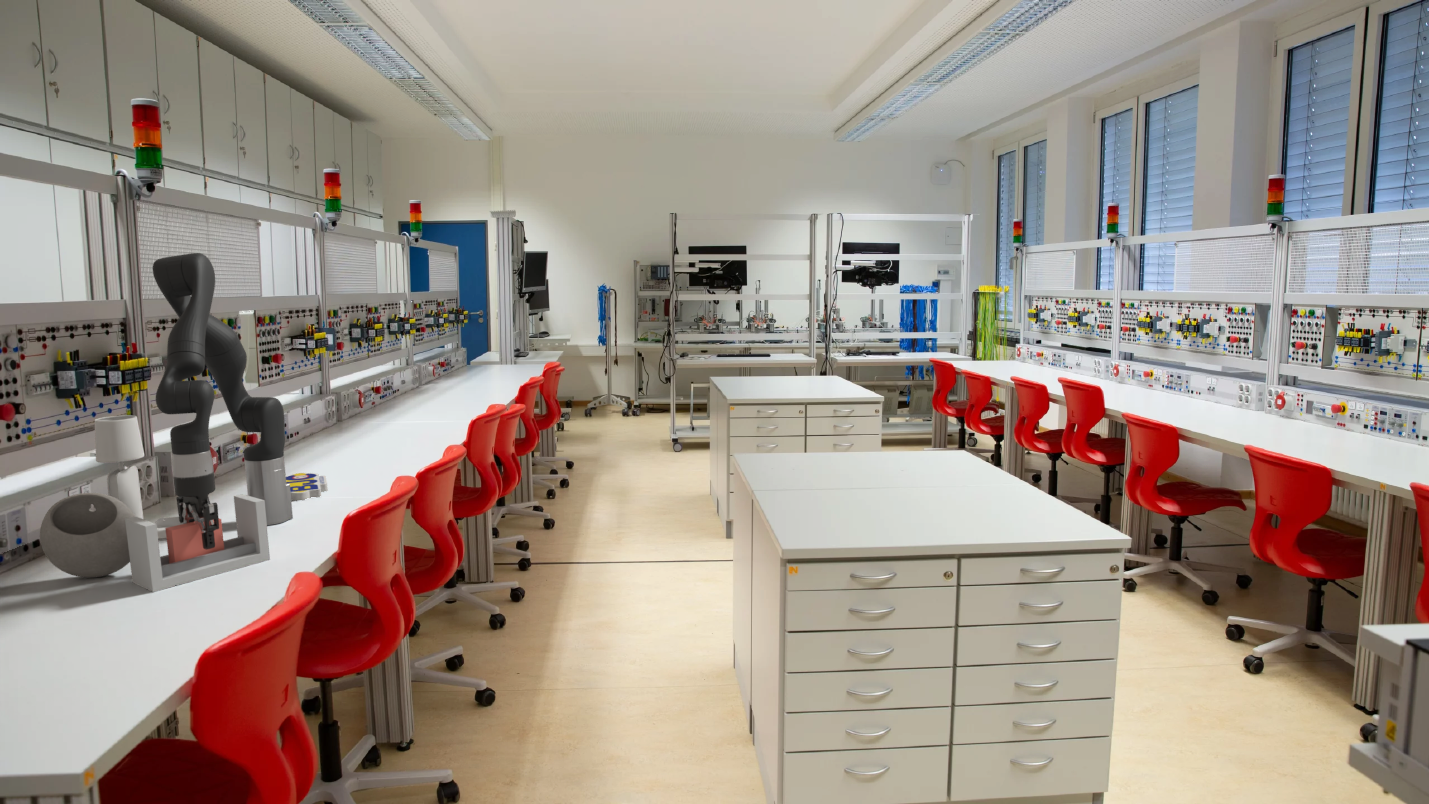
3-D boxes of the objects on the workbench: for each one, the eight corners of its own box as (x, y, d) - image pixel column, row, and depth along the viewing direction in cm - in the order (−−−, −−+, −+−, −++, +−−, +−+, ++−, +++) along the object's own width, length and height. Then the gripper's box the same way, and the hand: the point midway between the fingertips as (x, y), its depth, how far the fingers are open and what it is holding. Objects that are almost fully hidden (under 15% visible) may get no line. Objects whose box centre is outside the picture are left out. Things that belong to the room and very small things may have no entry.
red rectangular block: (218, 555, 189) (214, 517, 187) (225, 558, 187) (221, 519, 185) (169, 568, 180) (165, 528, 179) (176, 571, 179) (171, 530, 177)
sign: (328, 489, 246) (251, 498, 237) (329, 498, 246) (252, 507, 237) (324, 470, 271) (254, 477, 262) (325, 478, 271) (255, 485, 262)
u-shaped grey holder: (248, 551, 197) (242, 494, 195) (269, 559, 192) (264, 500, 189) (132, 582, 178) (125, 518, 176) (153, 592, 172) (145, 526, 170)
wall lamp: (192, 536, 209) (179, 418, 205) (96, 542, 205) (81, 422, 201) (209, 524, 219) (197, 412, 215) (118, 530, 215) (104, 415, 211)
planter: (37, 587, 176) (26, 500, 173) (54, 575, 182) (43, 492, 180) (138, 578, 180) (128, 493, 178) (151, 567, 187) (141, 485, 184)
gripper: (227, 472, 180) (234, 546, 183) (196, 464, 188) (204, 535, 191) (190, 479, 174) (198, 556, 177) (159, 471, 182) (167, 544, 185)
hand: (201, 545), depth 184 cm, fingers open, 7 cm apart
